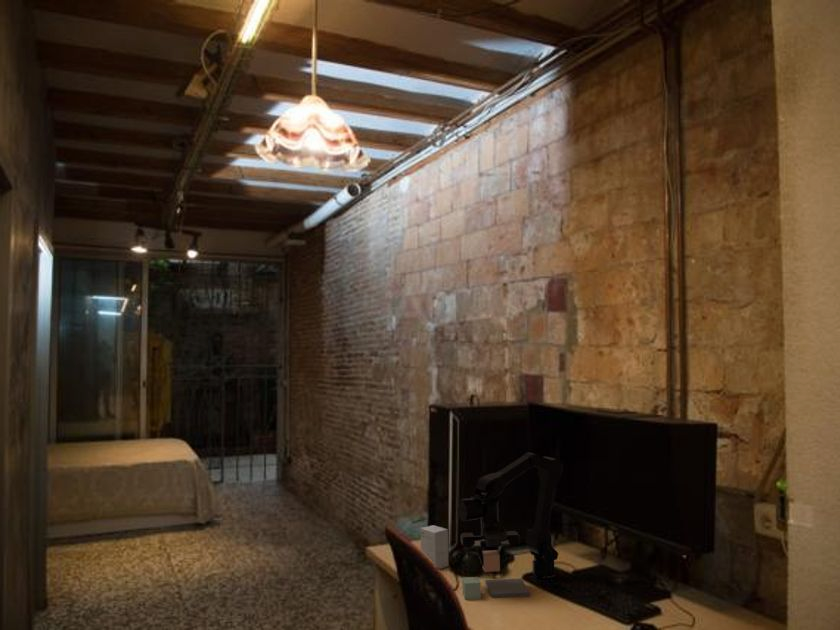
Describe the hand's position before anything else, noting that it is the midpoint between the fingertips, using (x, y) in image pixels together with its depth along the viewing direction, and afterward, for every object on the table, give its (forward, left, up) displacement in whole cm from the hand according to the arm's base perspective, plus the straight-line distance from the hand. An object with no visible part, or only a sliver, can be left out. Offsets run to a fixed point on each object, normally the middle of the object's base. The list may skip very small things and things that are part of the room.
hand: (490, 565), depth 210 cm
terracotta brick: (0, 0, -1) cm, 1 cm away
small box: (+16, -22, -7) cm, 28 cm away
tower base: (-5, +3, -7) cm, 9 cm away
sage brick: (+7, +7, -7) cm, 12 cm away
